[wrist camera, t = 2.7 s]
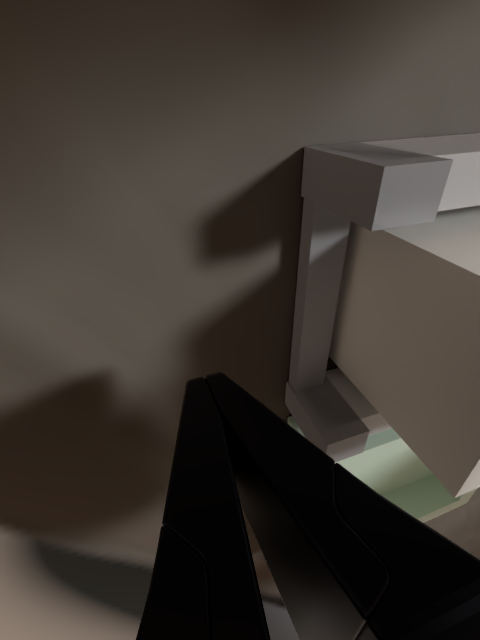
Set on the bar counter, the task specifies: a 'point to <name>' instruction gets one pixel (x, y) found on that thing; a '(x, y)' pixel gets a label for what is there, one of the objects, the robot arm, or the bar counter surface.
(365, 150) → the dock
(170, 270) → the bar counter surface
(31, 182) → the bar counter surface
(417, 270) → the cream knobbed cube
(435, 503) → the tray
